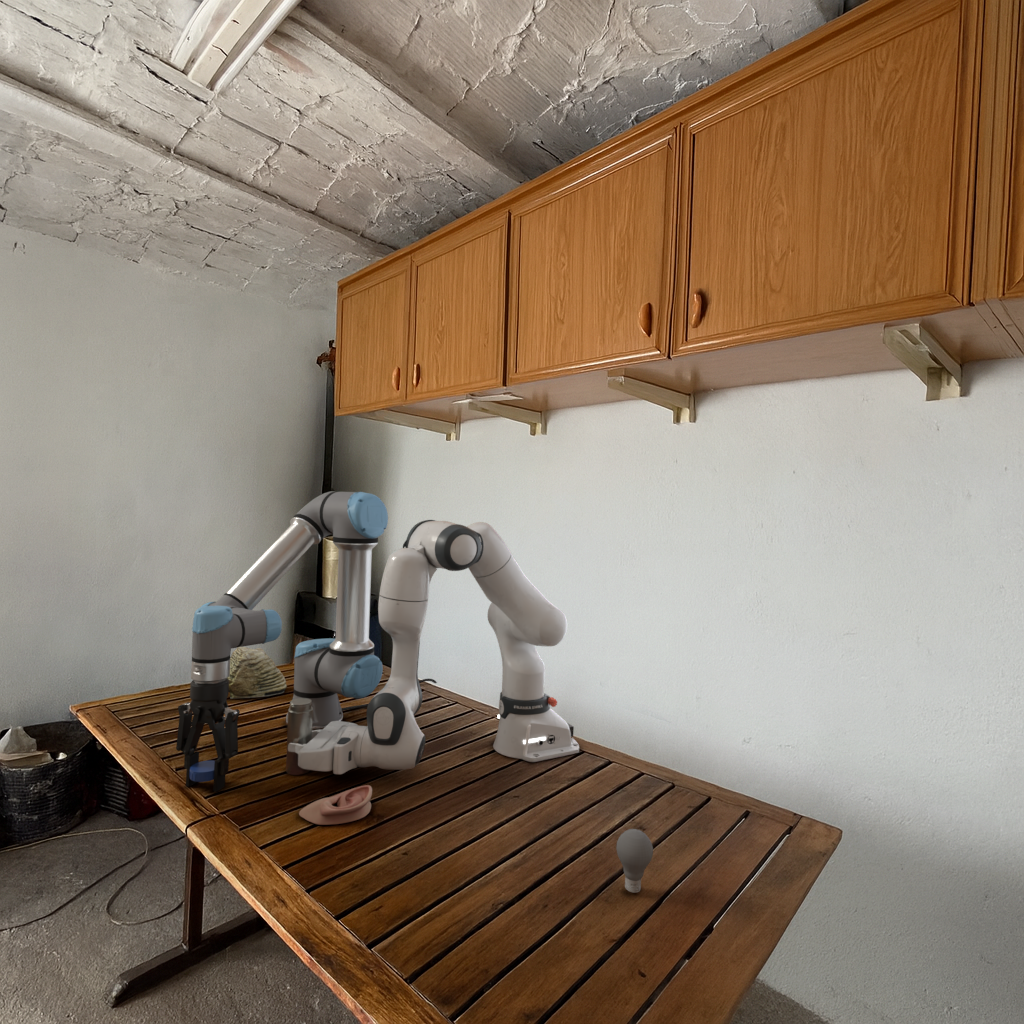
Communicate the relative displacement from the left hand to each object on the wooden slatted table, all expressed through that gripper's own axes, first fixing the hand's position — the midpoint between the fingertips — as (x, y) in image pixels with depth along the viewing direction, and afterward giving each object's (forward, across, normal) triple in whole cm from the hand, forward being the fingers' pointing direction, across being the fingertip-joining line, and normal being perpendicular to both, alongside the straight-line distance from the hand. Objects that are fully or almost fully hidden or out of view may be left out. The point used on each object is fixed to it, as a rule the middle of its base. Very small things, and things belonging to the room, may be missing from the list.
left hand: (205, 786), depth 136 cm
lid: (-4, 0, 0) cm, 4 cm away
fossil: (0, -29, +57) cm, 64 cm away
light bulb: (0, +91, -9) cm, 91 cm away
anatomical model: (0, +32, -1) cm, 32 cm away
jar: (0, +14, +14) cm, 19 cm away
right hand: (-7, +13, +14) cm, 20 cm away
